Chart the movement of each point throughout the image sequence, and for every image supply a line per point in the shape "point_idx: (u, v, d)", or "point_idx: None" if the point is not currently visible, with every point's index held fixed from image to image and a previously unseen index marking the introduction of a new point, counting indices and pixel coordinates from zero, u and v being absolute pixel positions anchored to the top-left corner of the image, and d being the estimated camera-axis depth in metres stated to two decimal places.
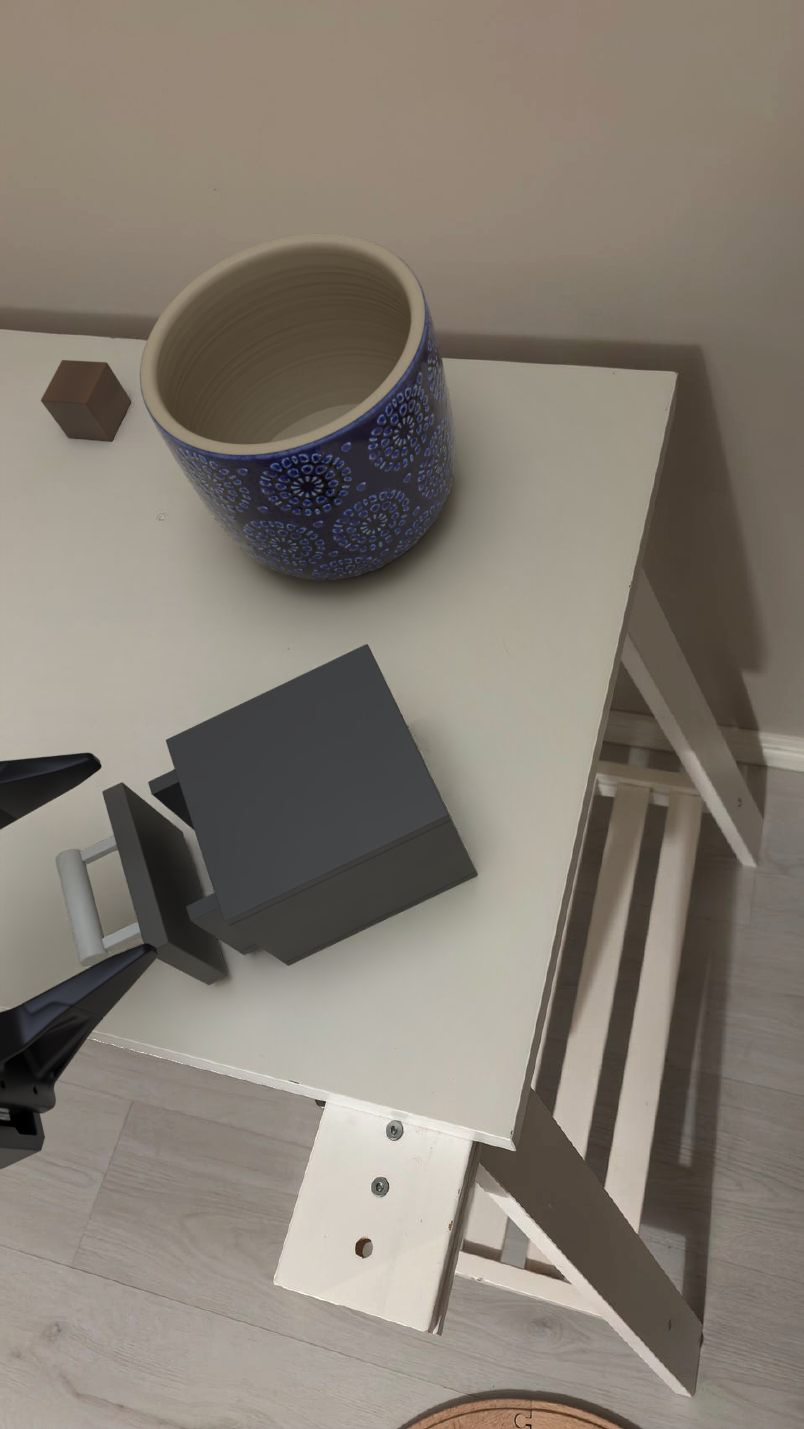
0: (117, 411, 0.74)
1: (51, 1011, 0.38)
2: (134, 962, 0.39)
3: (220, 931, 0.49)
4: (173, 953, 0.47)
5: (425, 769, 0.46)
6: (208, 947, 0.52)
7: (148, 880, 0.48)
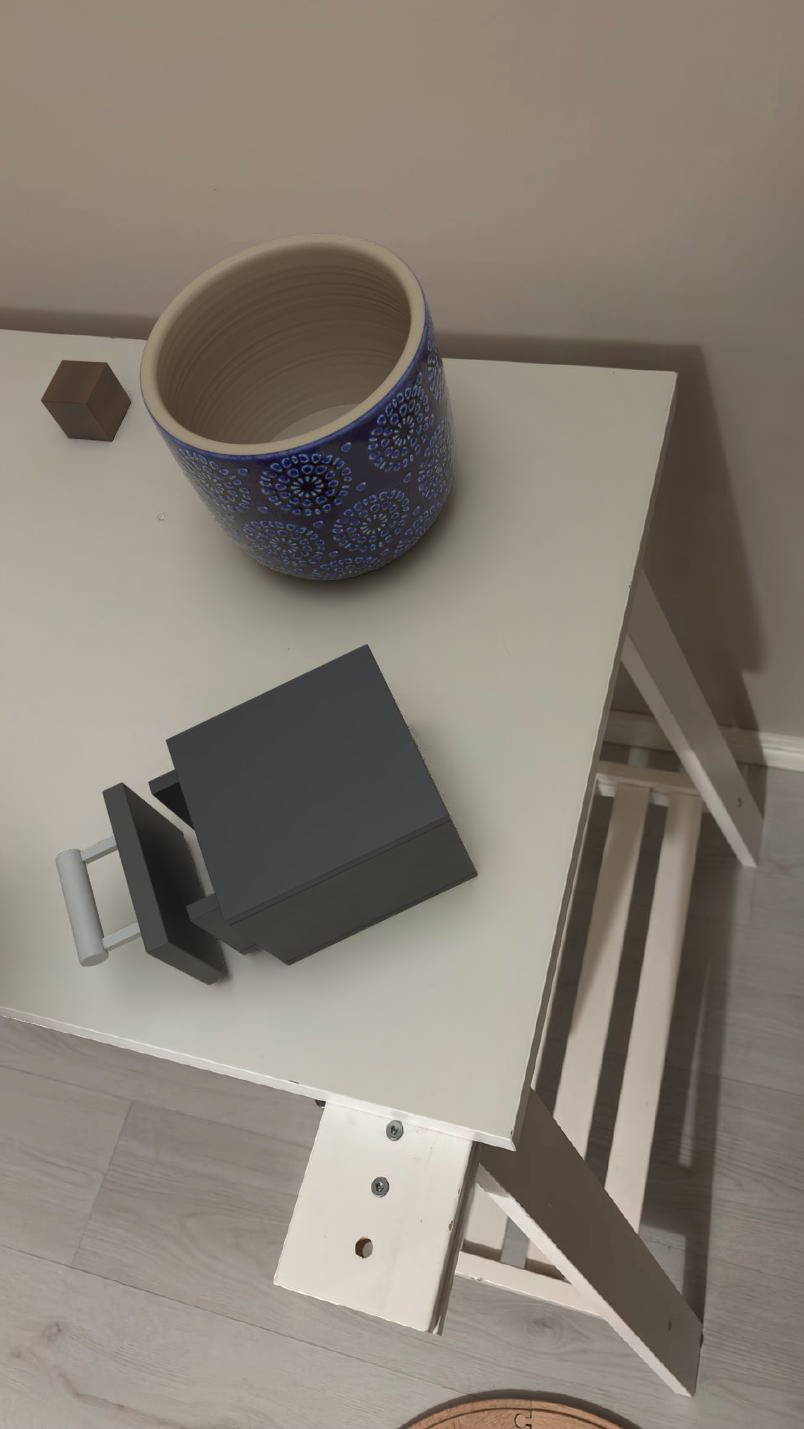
0: (117, 411, 0.74)
1: None
2: None
3: (220, 931, 0.49)
4: (173, 953, 0.47)
5: (425, 769, 0.46)
6: (208, 947, 0.52)
7: (148, 880, 0.48)
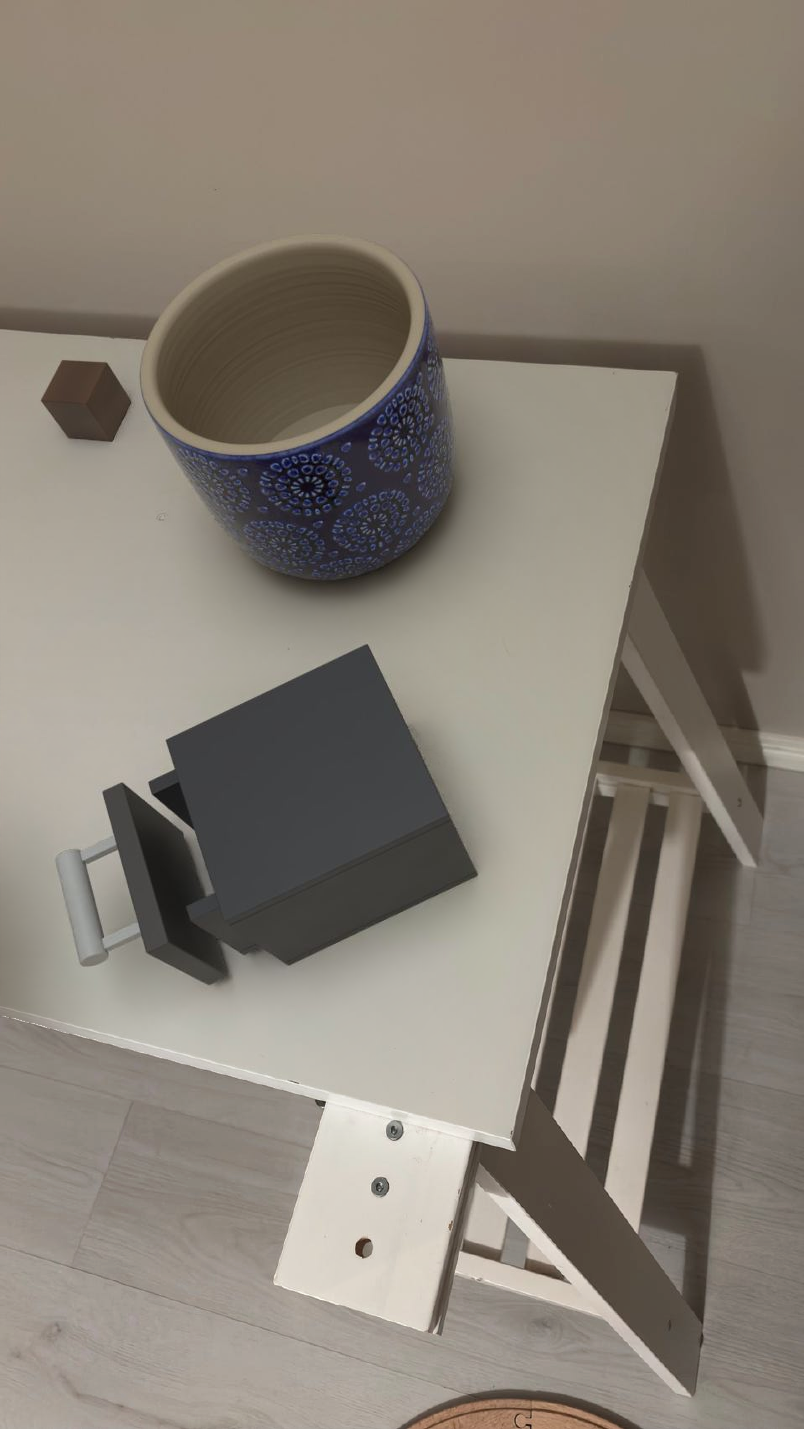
0: (117, 411, 0.74)
1: None
2: None
3: (220, 931, 0.49)
4: (173, 953, 0.47)
5: (425, 769, 0.46)
6: (208, 947, 0.52)
7: (148, 880, 0.48)
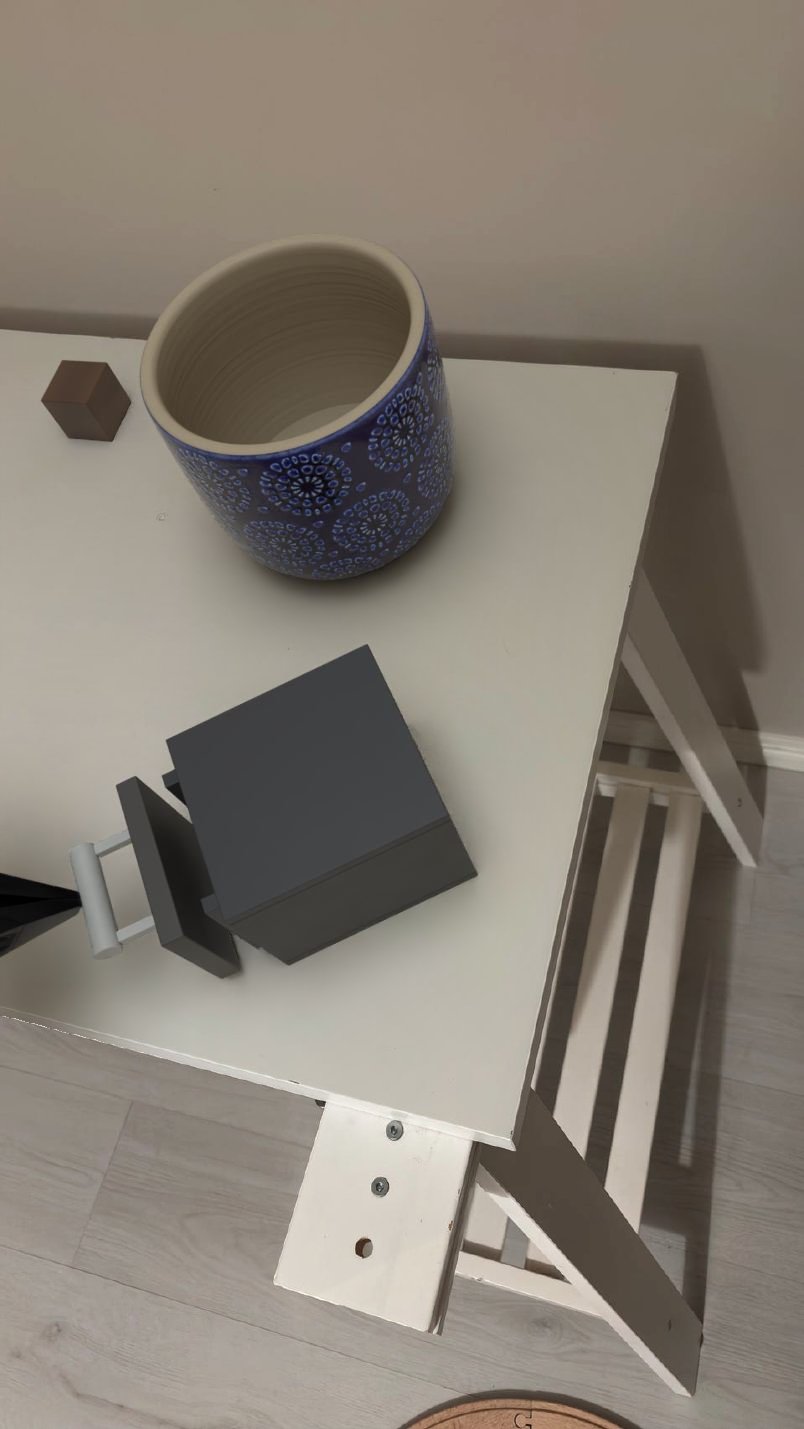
0: (117, 411, 0.74)
1: (6, 923, 0.46)
2: (70, 909, 0.49)
3: None
4: (188, 946, 0.47)
5: (425, 769, 0.46)
6: (221, 941, 0.52)
7: (162, 874, 0.48)
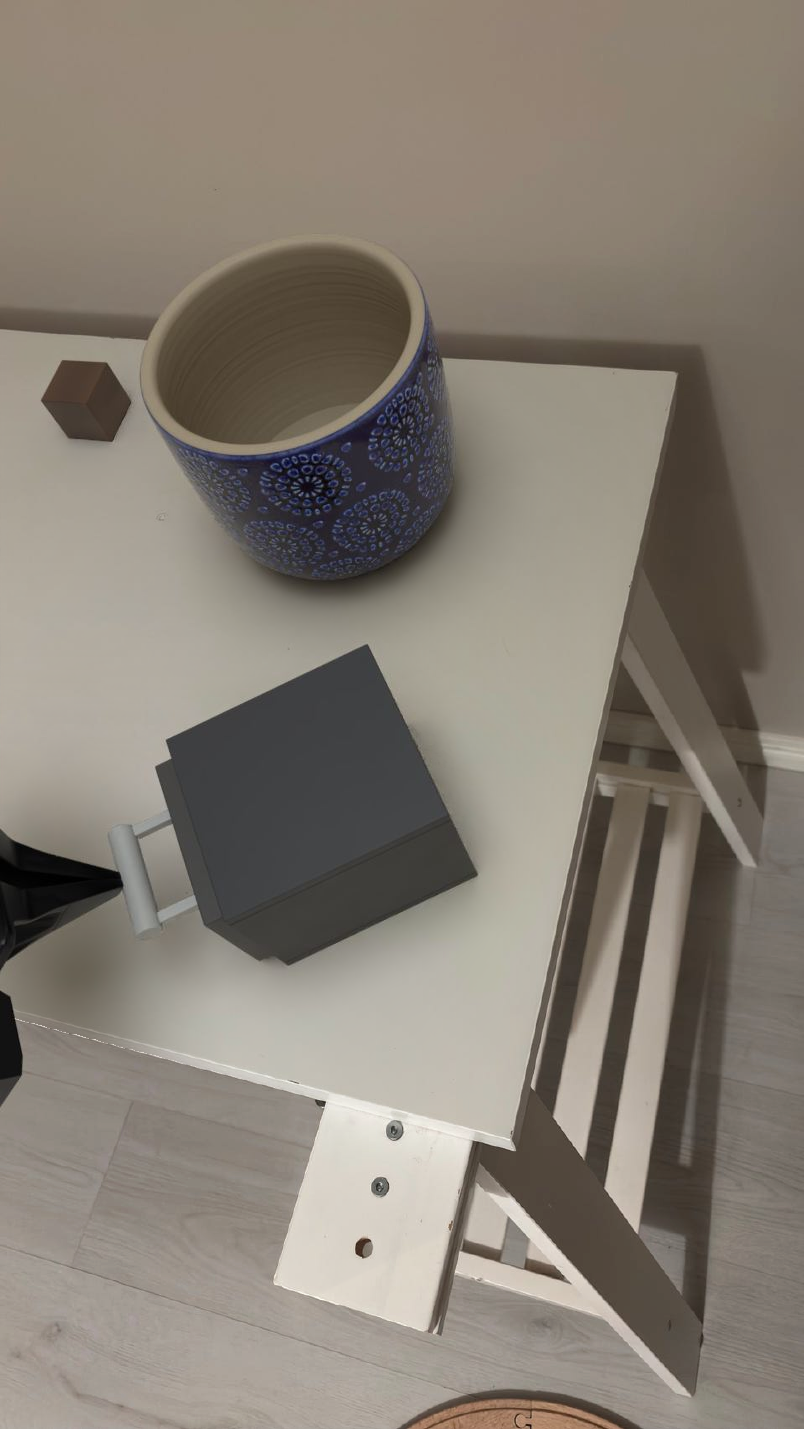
0: (117, 411, 0.74)
1: (53, 901, 0.46)
2: (113, 889, 0.49)
3: None
4: (230, 926, 0.47)
5: (425, 769, 0.46)
6: None
7: None
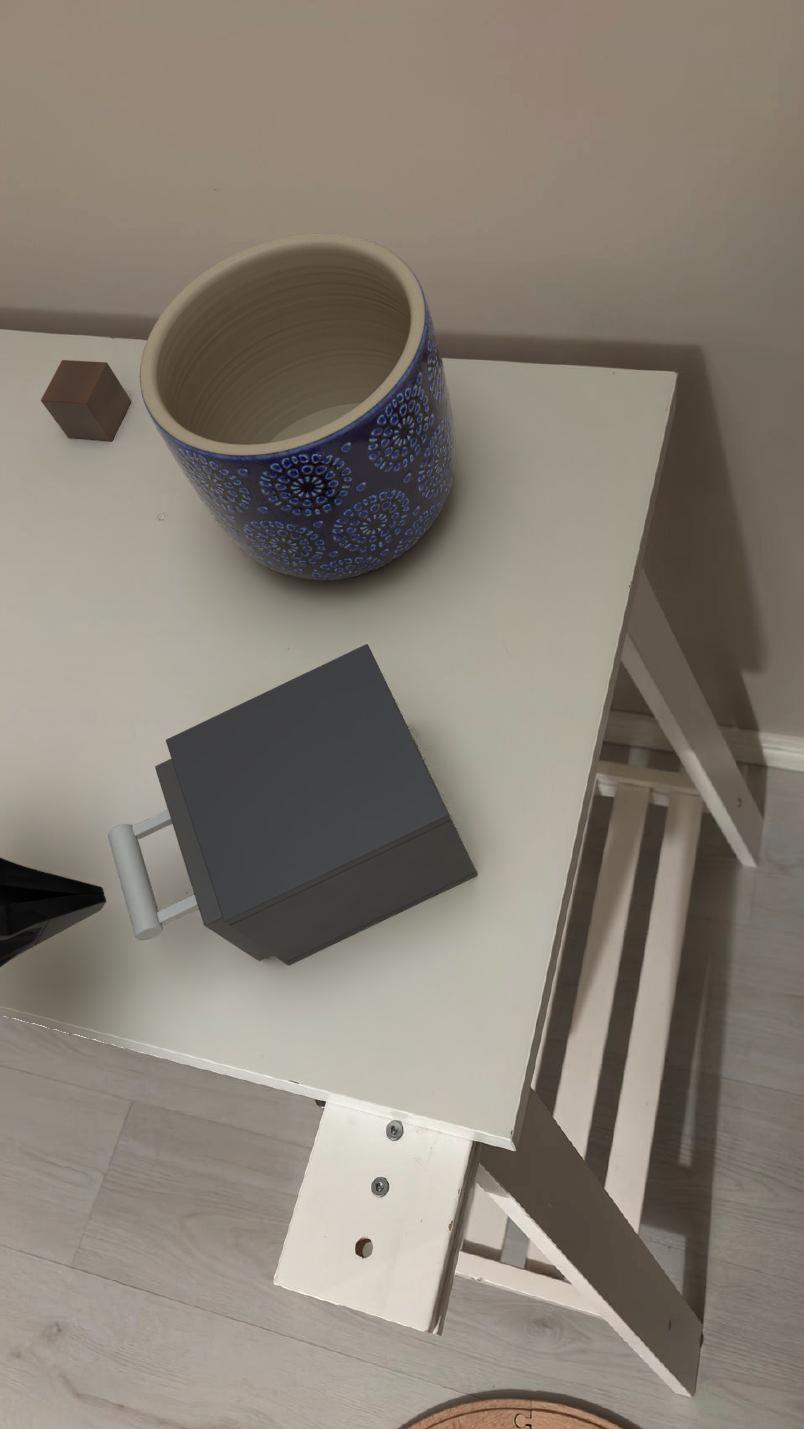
0: (117, 411, 0.74)
1: (32, 917, 0.46)
2: (94, 905, 0.49)
3: None
4: (230, 926, 0.47)
5: (425, 769, 0.46)
6: None
7: None
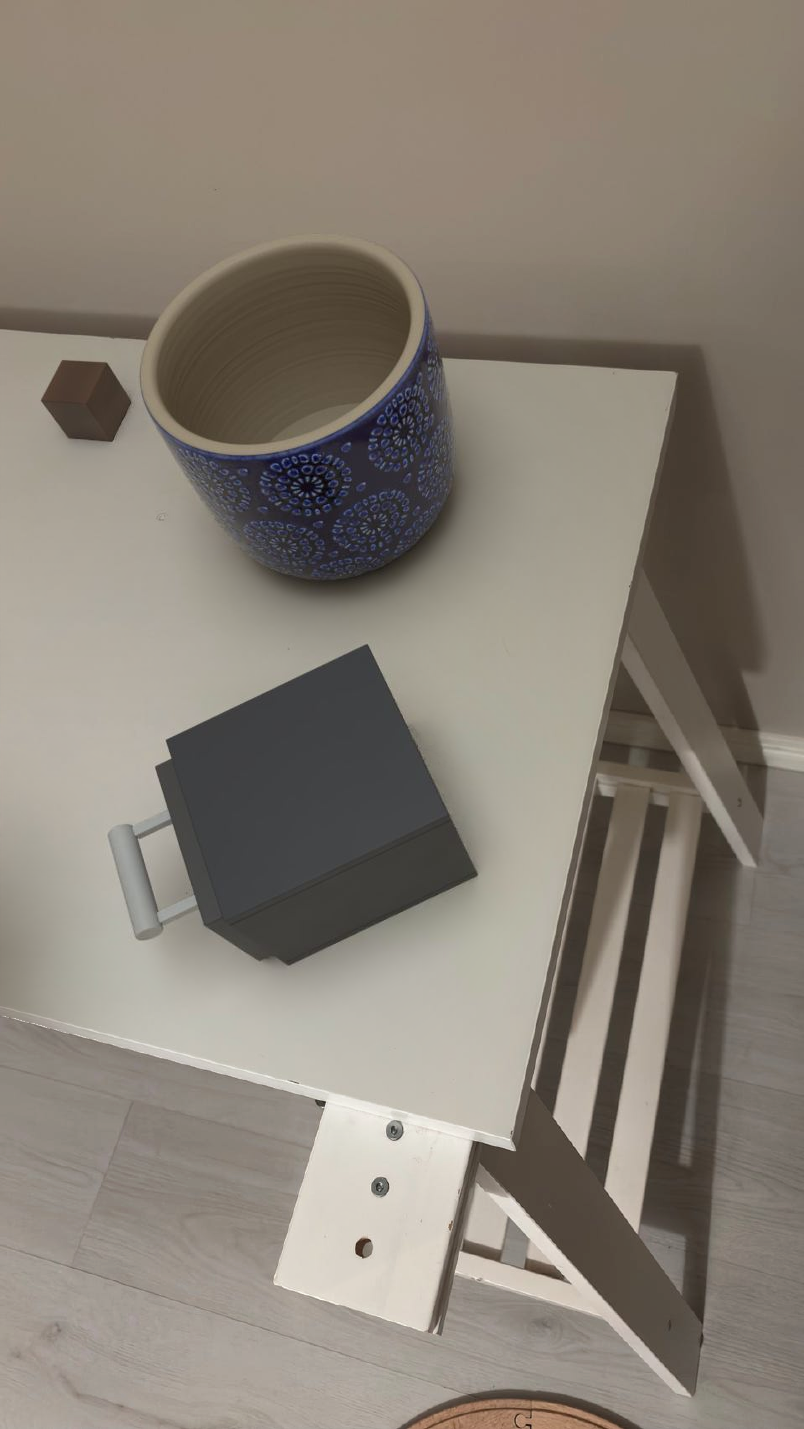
0: (117, 411, 0.74)
1: None
2: None
3: None
4: (230, 926, 0.47)
5: (425, 769, 0.46)
6: None
7: None
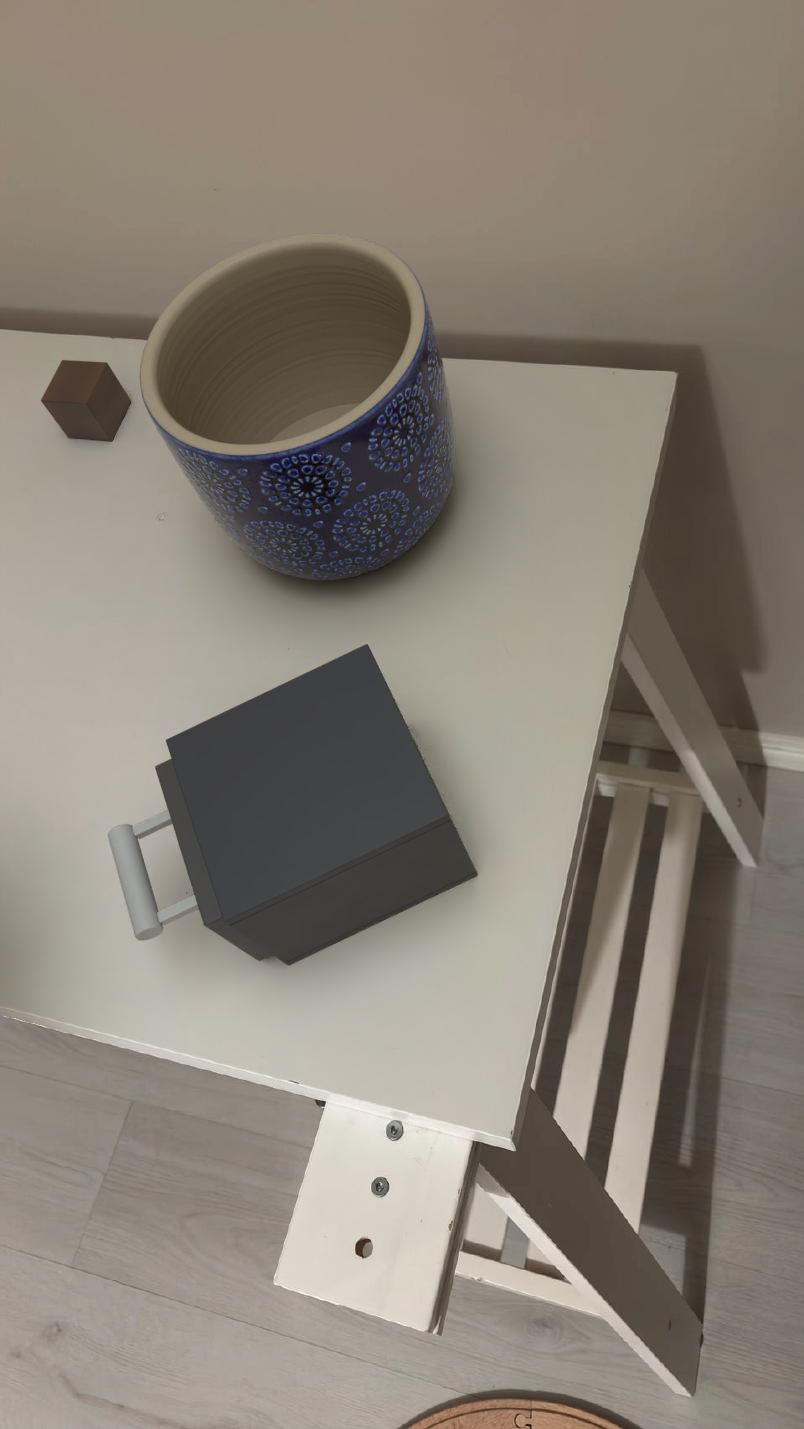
0: (117, 411, 0.74)
1: None
2: None
3: None
4: (230, 926, 0.47)
5: (425, 769, 0.46)
6: None
7: None
